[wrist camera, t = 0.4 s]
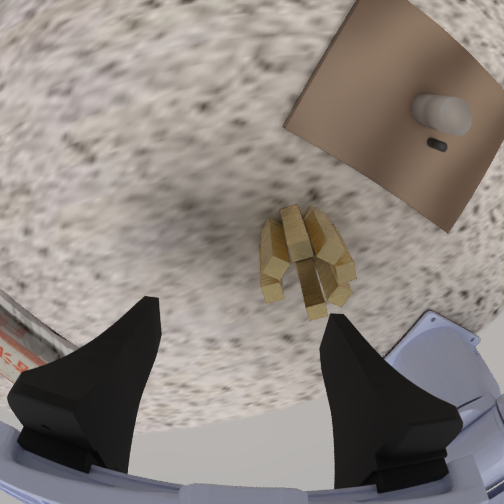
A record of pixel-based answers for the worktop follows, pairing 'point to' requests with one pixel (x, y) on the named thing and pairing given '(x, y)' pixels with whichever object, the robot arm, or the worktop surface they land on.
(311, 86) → the post base
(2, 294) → the packaged product
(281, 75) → the worktop surface
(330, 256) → the wooden block ring
